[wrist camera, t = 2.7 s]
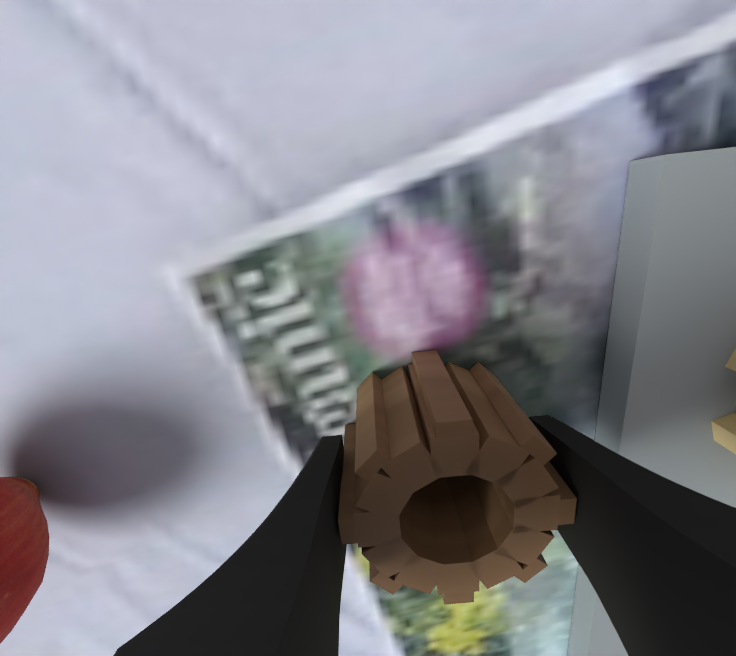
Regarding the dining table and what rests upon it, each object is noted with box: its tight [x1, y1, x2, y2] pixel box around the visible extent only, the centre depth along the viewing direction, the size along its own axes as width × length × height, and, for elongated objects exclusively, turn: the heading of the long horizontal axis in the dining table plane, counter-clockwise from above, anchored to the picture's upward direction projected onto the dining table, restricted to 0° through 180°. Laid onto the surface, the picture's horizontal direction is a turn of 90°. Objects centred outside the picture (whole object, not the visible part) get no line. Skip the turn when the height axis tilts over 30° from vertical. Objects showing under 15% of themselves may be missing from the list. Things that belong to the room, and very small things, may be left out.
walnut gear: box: [338, 350, 577, 604], centre depth 10 cm, size 6×6×4 cm
